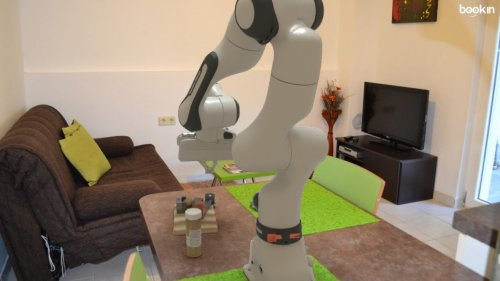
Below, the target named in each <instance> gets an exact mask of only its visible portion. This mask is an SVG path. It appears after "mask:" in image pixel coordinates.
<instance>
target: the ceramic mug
mask: <svg viewBox="0 0 500 281" xmlns="http://www.w3.org/2000/svg"><path fill="white" fill-rule="evenodd" d="M259 192H260V190H259V191H257V192H255V193H254V194H253V197H252V200H251V201H249V204H250V206H251V207H254V209H255V210H256V211H258V196H259Z"/></svg>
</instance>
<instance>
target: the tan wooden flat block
mask: <svg viewBox="0 0 500 281" xmlns="http://www.w3.org/2000/svg"><path fill="white" fill-rule="evenodd" d="M185 199H187V195H176V200H175V201H176V202H175V203H176V204H174V206H173V210H174V211H173V236H179V235H182V236H183V235H186V218H185V211H186V210H188V209H191V208H192V207H191V208H187V201H184V200H185ZM183 201H184V202H183ZM216 203H217V202H216V201H215V203H214V204H212V205H211V206H210V208H209V209H208V211H207V212H206V214H205V216H204V218H203V219H202V218H201V234H209V233H211V234H212V233H219V232H218V231H219V227H218V224H217V223H218V222H217V219H216V214H215V208H214V206H215V205H216Z"/></svg>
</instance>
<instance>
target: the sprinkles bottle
mask: <svg viewBox="0 0 500 281" xmlns="http://www.w3.org/2000/svg"><path fill="white" fill-rule="evenodd" d="M201 217H202V214H201V210H200V209H197V208H191V209H188V210H186V211H185V218H186V234H185V243H186V253H185V255H186V256H187V257H188V258H198V257H201V255H202V254H203V252H202V233H201Z"/></svg>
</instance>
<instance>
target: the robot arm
mask: <svg viewBox="0 0 500 281" xmlns="http://www.w3.org/2000/svg"><path fill="white" fill-rule="evenodd" d="M324 15H325V6H324V2H323V0H236V1H235V5H234V10H233V11H232V14H231V16H230V18H229V21H228V23H227V26H226V29H225V32H224V35H223V37H222V39H221V40H220V42H219V43H218V45H217V46H216V47H215V48H213V50H212V51H210V52H209V53H207V54H206V56H205V57H204V58H203V60H202V61H201V64H200V66H199V68H198V70H197V72H196V74H195V77H194V78H193V80H192V84H191V85H190V88H189V90H188V91H187V94H186V95H185V97H184V98H183V99H182V100H181V102H180V103H179V106H178V112H177V118H178V122H179V124H180V125H181V127H182V128H184V129H185V130H187V131H188V132H181V133H180V134H178V135H177V137H176V144H177V146H178V156H177V157H178V160H179V161H180V162H181V163H183V162H184V163H185V162H189V163H190V162H201V166H202V167H203V168H204V173H205V174H206V175H207V174H215V169H216V166H217V165H218V161H219V162H221V161H233V162H234V165H235V166H236V167H237V169H239V170H240V171H242V172H249V173H258V174H259V173H260V174H261V173H269V172H275V173H274V176H273V177H272V178H271V179H270V180H268V181H267V182H265V183H264V184H263V185H262V187H261V188H260V189H259V191H260V192H259V191H258V192H259V196H258V210H257V212H258V213H257V218H256V219H255V220H256V221H255V232H256V234H255V235H254V236H253V238H252V239H251V240H250V241H249V242H250V245H249V256H248V257H249V258H248V259H249V261H248V263H246V264H244V266H243V267H242V268H243V269H242V271H243V272H244V274H245V276H246V277H247V279H248V280H249V281H316V278H315V273H314V269H313V268H314V265H315V263H314V258H313V257H310V256H307V252H310V250H309V249H310V247H309V246H307V245H305V244H306V243H305V237H304V235H303V225H302V224H303V222H302V219H301V211H302V210H301V209H302V199H303V193H304V191H305V190H304V189H305V188H306V187H305V186H306V184H307V183H308V180H309V179H310V177H311V175H312V174H313V172H314V171H315V169H316V168H318V166H319V165H320V164H322V163H323V162H324V161H325V160H326V159H327V156H328V154H329V148H330V145H329V144H330V142H329V138H328V137H327V134H326V133H325V132H324V131H323V129H321V128H320V127H316V126H312V125H297V124H299V122H301V121H302V120H304V119H305V118H307V117H308V116H309V114H310V113H311V112H312V110H313V107H314V103H315V98H316V94H317V90H318V85H319V80H320V76H321V75H320V74H321V68H322V63H323V62H322V60H323V39H322V36H320V34H319V33H318V32H317V31H316V30H317V29H319V27H320V26H321V24H322V23H323V20H324ZM269 43H270V44H271V46H272V50H273V60H272V65H271V68H270V69H271V70H270V76H269V82H268V88H267V91H266V92H267V93H266V97H265V101H264V104H263V106H262V108H261V110H260V111H259V113H258V114H257V116H256V117H255V118H254V120H253V121H252V122H251V123H250V124H249V125H248V126H247V127H246V128H244V129H243V130H242V131H240V132H239V133H237V132H236V131H235V129H233V128H230V127H234V126H235V125H236V124H237V122H238V121H239V119H240V115H241V111H240V110H241V108H240V107H241V106H240V103H239V102H238V101H237V99H235V97H233V96H229V95H228V94H227V93H226V92H225V91H224V90H223V88H222V85H221V84H220V83H218V82H219V81H222V80H223V79H225V78H228V77H231V76H234V75H238V74H241V73H245V72H247V71H249V70H251V69H253V68H255V67H256V66H257V64H259V61H261V59H262V57H263V54H264V52H265V49H266V47H267V45H268V44H269ZM207 162H212V165H211V166H210V167H209V166H207V165H206V164H207Z"/></svg>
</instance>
